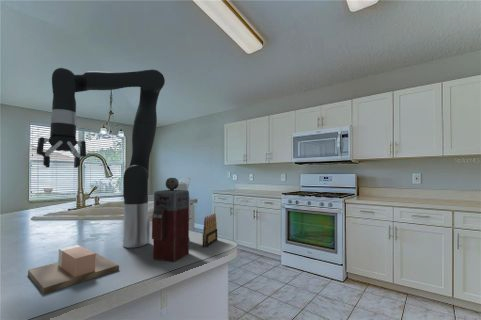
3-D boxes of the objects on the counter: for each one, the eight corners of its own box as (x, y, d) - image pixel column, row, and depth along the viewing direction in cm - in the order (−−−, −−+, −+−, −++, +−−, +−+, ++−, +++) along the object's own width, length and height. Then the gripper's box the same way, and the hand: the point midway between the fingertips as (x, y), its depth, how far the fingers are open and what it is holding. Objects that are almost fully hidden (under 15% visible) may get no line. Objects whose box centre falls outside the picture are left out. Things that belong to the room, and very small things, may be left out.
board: (95, 257, 82) (95, 252, 82) (118, 269, 71) (119, 264, 71) (28, 274, 68) (28, 269, 68) (43, 294, 57) (43, 287, 57)
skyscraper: (184, 238, 106) (184, 177, 108) (194, 242, 100) (194, 177, 102) (167, 242, 100) (168, 177, 102) (176, 246, 94) (177, 178, 96)
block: (75, 258, 63) (58, 248, 72) (74, 277, 63) (58, 265, 71) (95, 253, 67) (77, 244, 75) (95, 271, 67) (77, 260, 75)
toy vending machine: (148, 261, 78) (149, 178, 80) (168, 250, 88) (169, 177, 90) (170, 264, 75) (171, 178, 77) (189, 253, 85) (189, 177, 87)
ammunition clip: (213, 239, 103) (213, 212, 103) (217, 240, 102) (217, 212, 103) (202, 247, 93) (202, 216, 93) (206, 247, 92) (206, 217, 93)
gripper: (82, 128, 93) (81, 168, 92) (36, 122, 82) (34, 167, 81) (89, 125, 89) (88, 167, 88) (41, 118, 78) (39, 166, 77)
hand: (62, 167), depth 85 cm, fingers open, 8 cm apart
